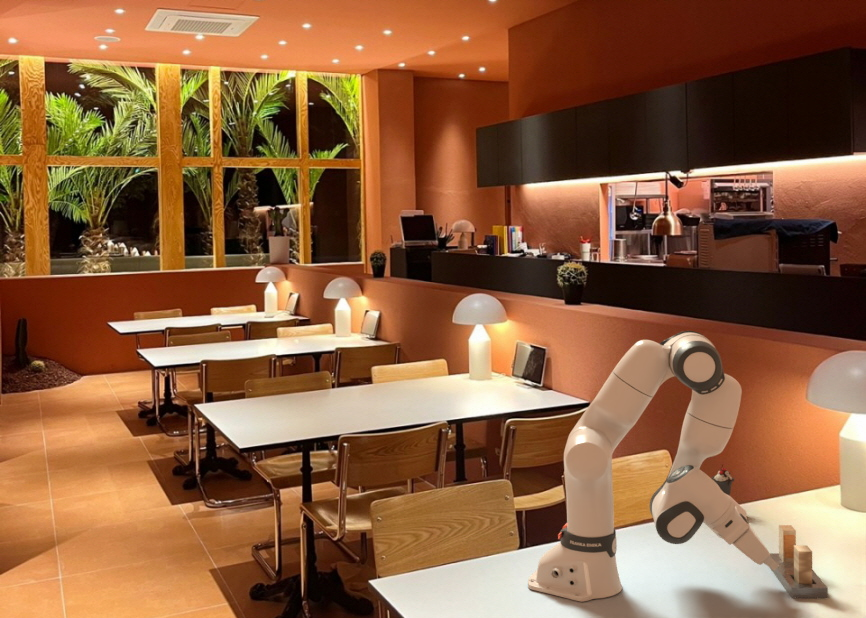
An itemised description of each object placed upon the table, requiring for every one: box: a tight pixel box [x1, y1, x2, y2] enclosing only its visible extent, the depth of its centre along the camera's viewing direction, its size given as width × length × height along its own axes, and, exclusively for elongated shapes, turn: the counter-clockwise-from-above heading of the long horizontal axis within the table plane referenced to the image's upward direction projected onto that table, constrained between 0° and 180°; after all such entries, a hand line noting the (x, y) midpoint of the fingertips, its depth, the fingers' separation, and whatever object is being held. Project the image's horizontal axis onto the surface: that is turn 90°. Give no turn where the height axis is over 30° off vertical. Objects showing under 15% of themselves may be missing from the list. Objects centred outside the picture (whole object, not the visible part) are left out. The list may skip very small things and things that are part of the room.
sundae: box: [710, 463, 735, 497], centre depth 267 cm, size 7×7×15 cm
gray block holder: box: [769, 524, 829, 599], centre depth 213 cm, size 8×22×10 cm, turn 173°
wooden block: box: [794, 544, 813, 584], centre depth 207 cm, size 3×4×10 cm
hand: (770, 560), depth 208 cm, fingers open, 8 cm apart
